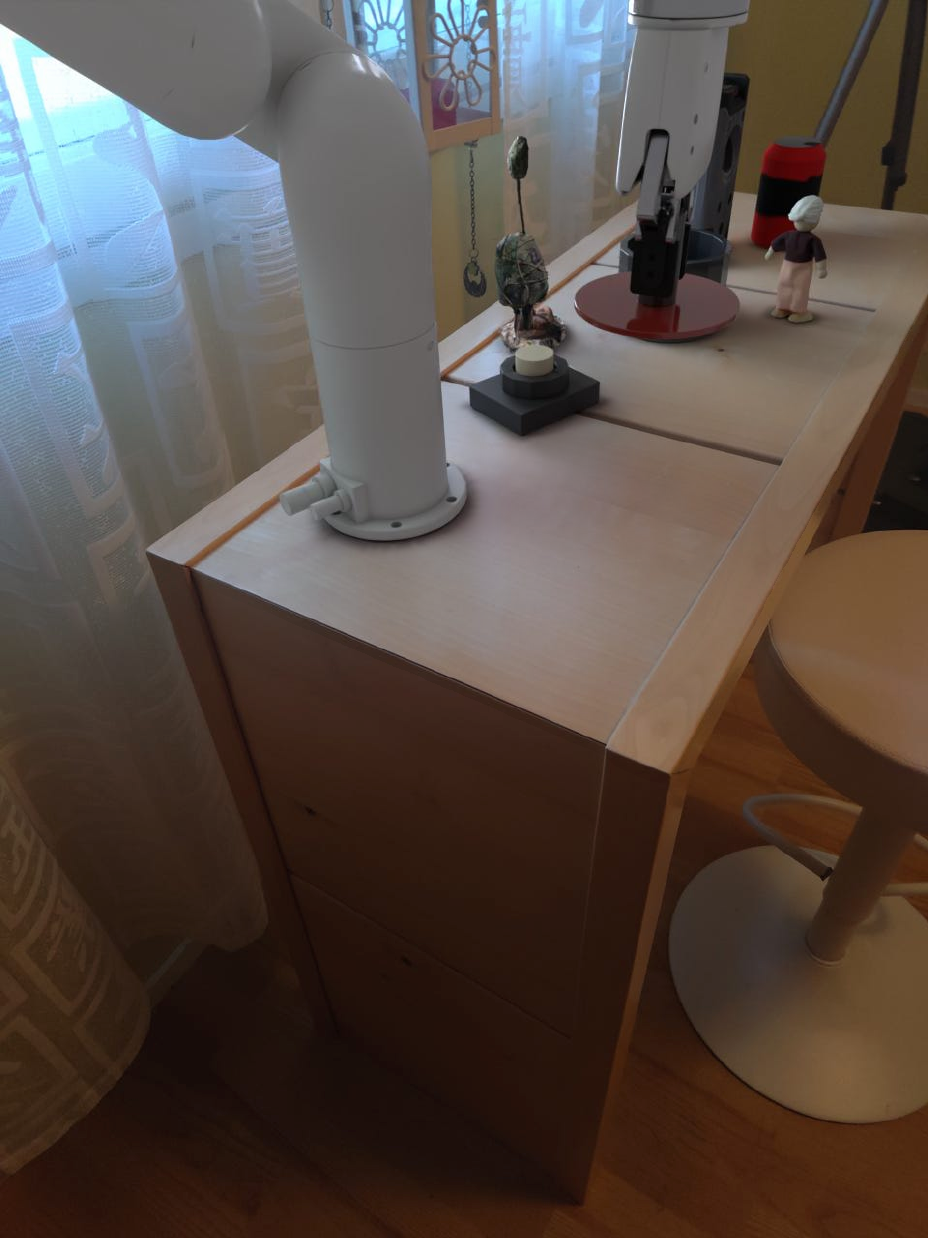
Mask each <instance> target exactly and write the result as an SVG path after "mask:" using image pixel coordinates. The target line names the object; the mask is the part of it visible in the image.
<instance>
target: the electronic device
mask: <svg viewBox="0 0 928 1238" xmlns="http://www.w3.org/2000/svg"><path fill="white" fill-rule="evenodd" d="M750 82H751V78H750V77H749V76H748V74H746V73H741V72H725V71H724V77H723V85H722V93H721V101H720V108H719V115H718V122H717V128H716V134H715V140H714V146H713V151H712V156H711V160H710V163H709V166H708V168H707V170H706V171H705V173H704V174H703V176H702V177H701V178H700V180H699V181H698V182H697V184H696V185H695V191H694V200H693V209H692V216H691V220H690V222H689V223H686V224H691V228H696V229H703V230H707V231H710V232H713V233H717V234H720V235H721V236H723V237H724V238H726V239H727V240H728V237H729V236H728V235H729V230H730V223H731V216H732V215H731V214H732V208H733V201H734V195H735V186H736V181H737V180H736V179H737V173H738V167H739V159H740V153H741V147H742V146H741V145H742V140H743V133H744V132H743V131H744V124H745V119H746V110H747V104H748V98H749V97H748V96H749V89H750V85H751V84H750Z"/></svg>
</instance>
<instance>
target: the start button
mask: <svg viewBox="0 0 928 1238" xmlns="http://www.w3.org/2000/svg"><path fill="white" fill-rule="evenodd" d="M554 354H555V353H554V349H553V350H552V349H551V348H549V347H546V346H542V345H528V346H524V347H521V348H520V349H518V350H515V355H516V372H517V373H519V374H521V375H525V376H532V377H533V376H543V375H546V374H549V373H551V372H552V371H553V357H554Z"/></svg>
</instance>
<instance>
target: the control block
mask: <svg viewBox="0 0 928 1238" xmlns="http://www.w3.org/2000/svg"><path fill="white" fill-rule="evenodd" d="M468 393H469V394H468V395H469V407H471V408H472V409H474V410H476V411H478V413H481V414H483V415H485V416H486V417H488V418H489V419H491V420H493V421H495V422H496V423H498V424H500V425H502V426H503V427H506V428H507V429H508V430H510V431H511V432H514V433H515V434H516V435H518V436H521V437H523V436H524V435H527V434H529V433H532V432H534V431H536V430H538V429H541V428H543V427H545V426H548V425H551V424H552V423H554V422H557V421H559V420H562V419H564V418H566V417H569V416H571V415H573V414H575V413H578V412H580V411H583V410H585V409H587V408H590V407H592V406H594V405H596V404H599V403H600V394H601V381H600V380H598V379H595V378H593V377H591V376H589V375H587V374H585V373H583V372H581V371H579V370H577V369H575V368H573V367H571V366H570V365H569V363H568V361H567V359H566V358H564V357H562V356H559V355H557V354H556V353H554V357H553V371H552V372H551V373H549V374H546V375H543V376H533V377H532V376H525V375H521V374H519V373H517V372H516V354H514V355H511V356H508V357H506V358H505V359H504V360H503V361H502V363H501V364H500V365H499V373H498V374H495V375H493V376H490V377H488V378H484V379H483V380H480V381H478V382H476V383H473V384H470V385H468Z"/></svg>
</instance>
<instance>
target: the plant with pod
mask: <svg viewBox="0 0 928 1238" xmlns="http://www.w3.org/2000/svg"><path fill="white" fill-rule="evenodd" d="M529 150H530V148H529V144H528V140H527V137H525V136H523V135H517V137H516V139H515V140H514V141H513V143H512V144H511V146H510V148H509V150H508V152H507V159H506V163H507V169H508V172H509V175H510V177H511V178H512V179H513V180H516V192H517V199H518V200H517V203H518V206H519V207H518V210H519V218H520V225H521V231H520V230H519V231H517V232H515V233H509V234H507V235H506V236H504V237H503V238H501V240H500V241H499V242H498V243H497V244H496V248H495V257H494V258H495V259H494V267H493V268H494V269H493V271H494V276H495V280H496V292H497V295H498V302H499V304H500V305H502V306H503V307H509V308H511V309H512V310H513V313H514V315H513V316H514V317H513V318H511V321H510V322H508V323H507V324H504V325H503V326H501V327H500V330H499V329H498V330H497V332H498V334H499V336H500V339H501V341H502V343H503V345H505V347H506V348H508V349H511V350H514V351H517V350H518V349H520V348H521V347H524V346H528V345H542V346H546V347H549V348H551V349H552V350H553V351H554V350H555V349H556V348H559V347H560V345H561V343H562V342H563V340H565V337H567V336H568V335H566V332H565V331H566V329H565V327H566V326H567V325H566V324H565V321H564V320H562V319H561V317H558V316H557V315H554V312H553V310H552V309H551V307H550V306H549V305H541V306H539V308H538V309H534V306H536V304H537V303H543V302H545V301H546V299H547V297H548V293H549V287H550V285H549V271H547V268H546V264H545V259H543V256H542V253H541V250H540V248H539V246H538V245H537V242H536V240H535V237H533V236H532V235H530V234H528V233H527V234H526V231H525V221H524V213H523V206H522V194H521V189H522V188H521V184H522V183H521V180H522V179H525V178H526V176H527V174H528V171H529V170H528V169H529ZM492 240H493V241H496V239H495V238H492Z"/></svg>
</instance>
